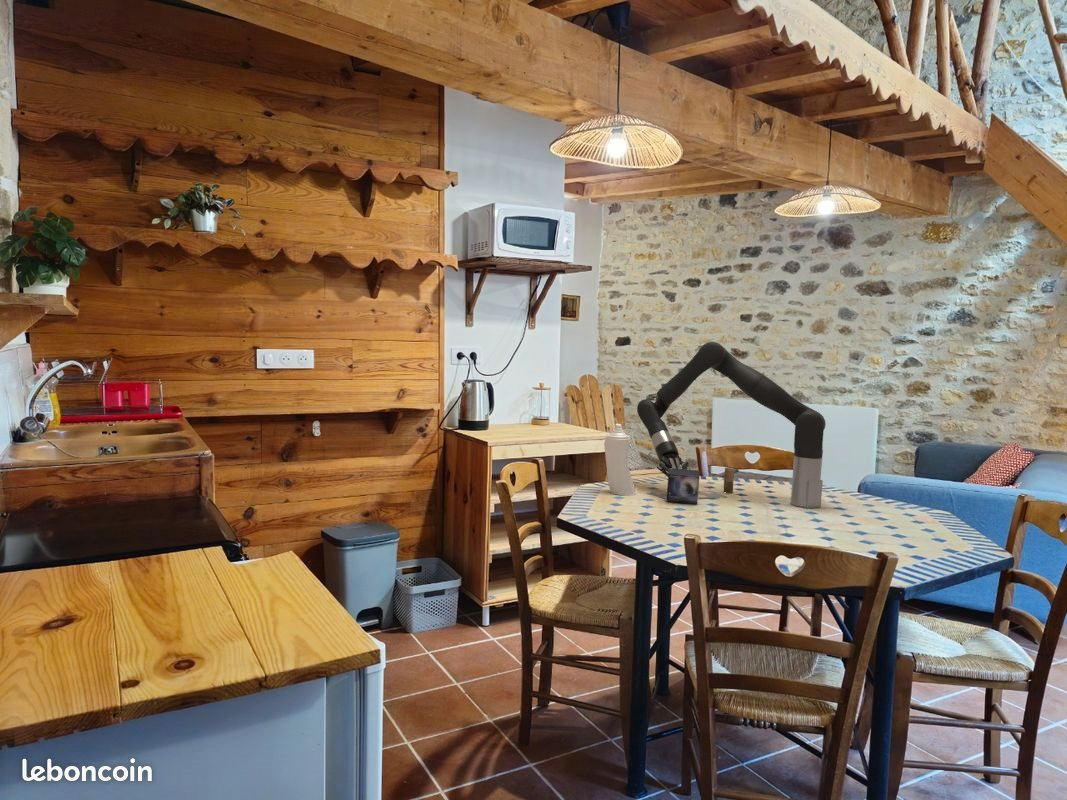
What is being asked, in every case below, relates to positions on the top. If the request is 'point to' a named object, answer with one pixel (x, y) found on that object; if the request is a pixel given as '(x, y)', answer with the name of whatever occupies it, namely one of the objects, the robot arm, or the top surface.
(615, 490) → the spray can
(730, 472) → the peg
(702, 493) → the board
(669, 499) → the small box
